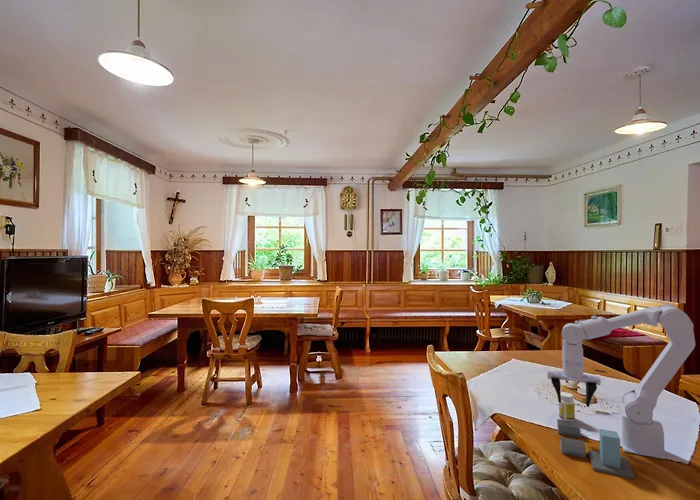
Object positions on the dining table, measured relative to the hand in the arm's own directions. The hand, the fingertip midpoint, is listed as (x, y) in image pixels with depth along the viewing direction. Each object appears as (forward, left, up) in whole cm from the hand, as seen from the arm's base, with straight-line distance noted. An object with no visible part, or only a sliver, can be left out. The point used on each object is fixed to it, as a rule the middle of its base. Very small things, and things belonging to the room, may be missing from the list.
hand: (573, 403), depth 116 cm
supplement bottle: (+1, -11, -10) cm, 15 cm away
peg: (-7, +15, -9) cm, 19 cm away
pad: (-7, +15, -10) cm, 19 cm away
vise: (+1, +5, -10) cm, 11 cm away
